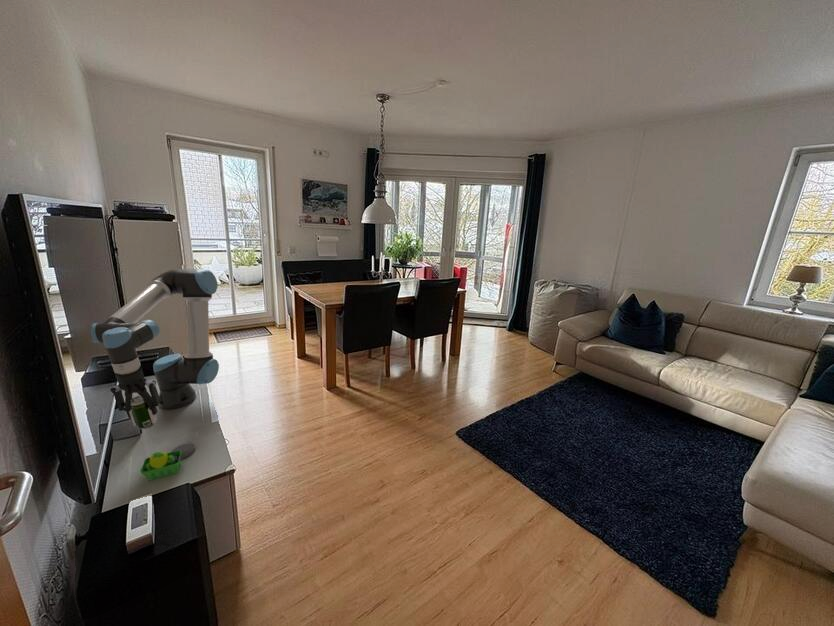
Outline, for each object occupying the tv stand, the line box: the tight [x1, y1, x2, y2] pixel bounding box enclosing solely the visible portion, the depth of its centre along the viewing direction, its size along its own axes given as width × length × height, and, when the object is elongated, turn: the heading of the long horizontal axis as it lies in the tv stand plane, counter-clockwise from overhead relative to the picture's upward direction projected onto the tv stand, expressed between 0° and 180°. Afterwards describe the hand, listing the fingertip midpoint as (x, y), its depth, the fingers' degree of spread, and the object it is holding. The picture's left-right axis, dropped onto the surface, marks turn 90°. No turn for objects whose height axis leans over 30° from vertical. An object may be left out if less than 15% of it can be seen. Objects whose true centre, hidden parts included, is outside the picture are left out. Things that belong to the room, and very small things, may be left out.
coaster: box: [171, 442, 196, 461], centre depth 137 cm, size 8×8×1 cm
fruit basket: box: [139, 450, 181, 481], centre depth 126 cm, size 11×9×11 cm
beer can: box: [130, 395, 155, 430], centre depth 131 cm, size 5×5×12 cm
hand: (145, 422), depth 133 cm, fingers closed on beer can, 5 cm apart
